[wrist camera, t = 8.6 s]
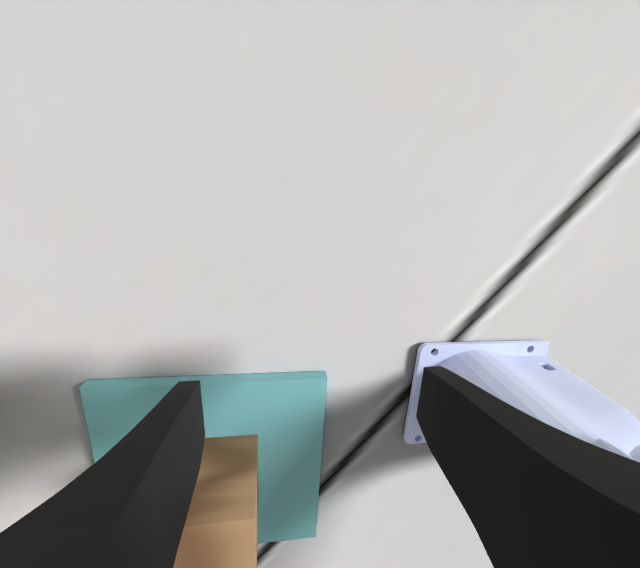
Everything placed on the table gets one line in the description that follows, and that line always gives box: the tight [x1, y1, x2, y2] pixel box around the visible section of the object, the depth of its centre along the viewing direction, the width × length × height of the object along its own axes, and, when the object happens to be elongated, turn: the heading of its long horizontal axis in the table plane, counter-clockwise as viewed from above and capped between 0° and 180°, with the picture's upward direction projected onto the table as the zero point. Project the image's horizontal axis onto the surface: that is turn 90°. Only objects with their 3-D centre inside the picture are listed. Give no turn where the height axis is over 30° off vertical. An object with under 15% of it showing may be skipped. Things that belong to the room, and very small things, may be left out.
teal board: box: [79, 371, 327, 544], centre depth 22 cm, size 14×14×1 cm
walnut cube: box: [173, 434, 258, 568], centre depth 19 cm, size 6×6×6 cm
